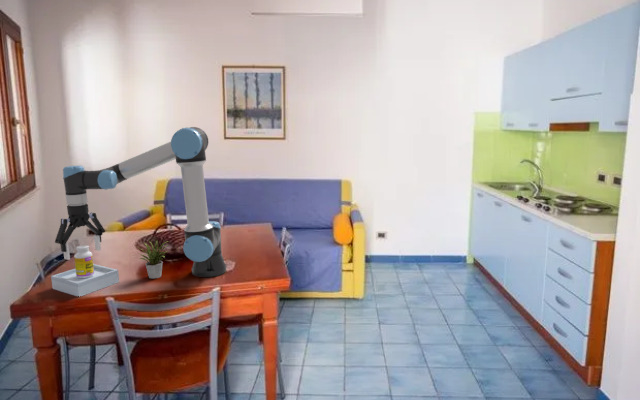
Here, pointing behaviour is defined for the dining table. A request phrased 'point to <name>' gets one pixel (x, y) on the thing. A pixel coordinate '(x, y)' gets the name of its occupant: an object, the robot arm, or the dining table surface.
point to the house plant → (154, 260)
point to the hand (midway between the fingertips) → (83, 254)
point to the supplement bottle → (84, 262)
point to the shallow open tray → (85, 281)
